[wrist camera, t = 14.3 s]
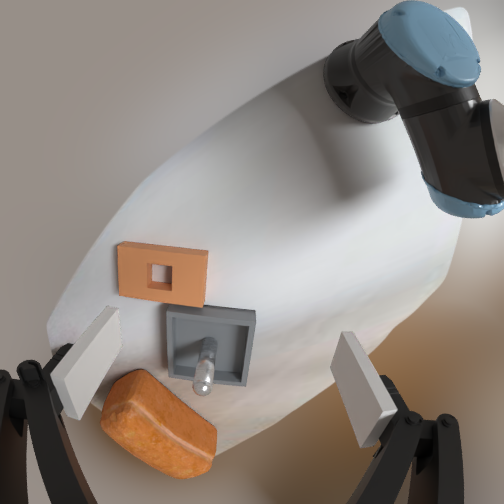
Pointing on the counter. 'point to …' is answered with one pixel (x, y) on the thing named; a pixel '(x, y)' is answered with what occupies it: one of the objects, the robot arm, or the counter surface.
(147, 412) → the bread
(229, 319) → the tray
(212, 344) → the pin
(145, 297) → the orange block with hole
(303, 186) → the counter surface
